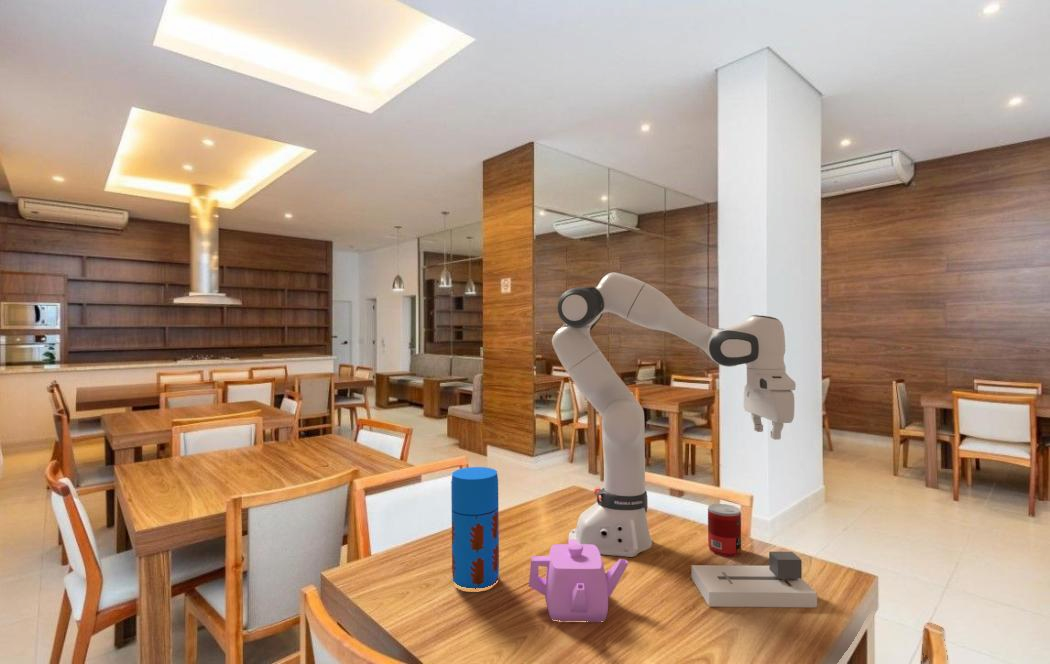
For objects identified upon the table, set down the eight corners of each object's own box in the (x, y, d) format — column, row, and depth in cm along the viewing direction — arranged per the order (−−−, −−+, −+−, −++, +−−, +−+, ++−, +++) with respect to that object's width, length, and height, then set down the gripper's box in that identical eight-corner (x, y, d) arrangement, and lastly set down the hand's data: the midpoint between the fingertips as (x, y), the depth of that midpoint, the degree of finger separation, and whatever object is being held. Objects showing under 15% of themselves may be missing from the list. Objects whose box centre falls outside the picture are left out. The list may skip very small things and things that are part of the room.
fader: (778, 581, 107) (777, 559, 107) (769, 572, 111) (769, 551, 111) (801, 581, 106) (801, 559, 106) (792, 572, 110) (792, 551, 110)
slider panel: (709, 606, 103) (708, 591, 103) (691, 578, 115) (691, 564, 115) (817, 607, 102) (816, 592, 102) (788, 578, 114) (788, 565, 114)
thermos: (507, 575, 117) (506, 469, 117) (484, 597, 108) (483, 481, 108) (467, 566, 122) (466, 464, 122) (442, 587, 112) (441, 476, 112)
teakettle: (571, 577, 116) (571, 524, 116) (633, 605, 104) (632, 546, 104) (519, 605, 105) (518, 546, 105) (581, 640, 92) (581, 573, 92)
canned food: (744, 558, 125) (743, 514, 125) (710, 555, 127) (710, 512, 127) (737, 545, 133) (737, 504, 133) (706, 543, 134) (705, 502, 134)
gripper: (736, 376, 135) (737, 427, 135) (771, 383, 115) (772, 443, 115) (760, 376, 135) (761, 427, 135) (799, 383, 114) (800, 443, 114)
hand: (766, 435), depth 124 cm, fingers open, 8 cm apart
